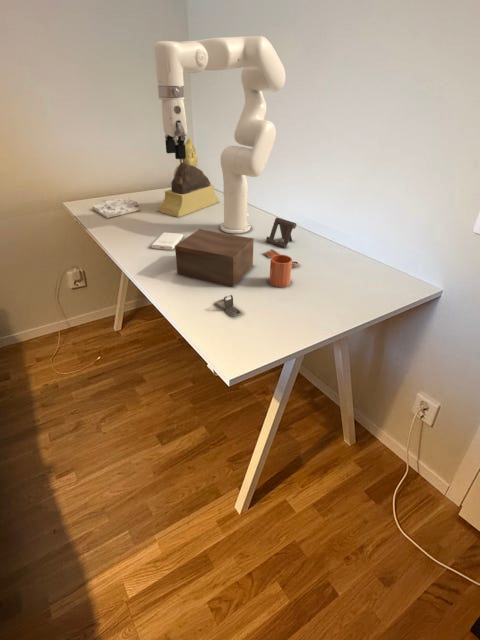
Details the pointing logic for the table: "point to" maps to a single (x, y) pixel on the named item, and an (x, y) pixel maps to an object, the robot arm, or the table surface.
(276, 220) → the tablet stand
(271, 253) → the key
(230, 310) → the strap clip
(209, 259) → the dark wooden box
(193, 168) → the gold-headed buddha statuette
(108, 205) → the floor plan model
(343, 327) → the table surface
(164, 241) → the hard drive
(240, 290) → the table surface
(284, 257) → the cup
